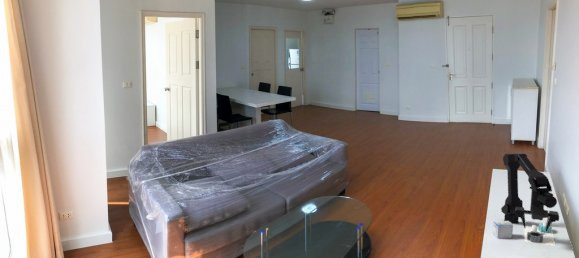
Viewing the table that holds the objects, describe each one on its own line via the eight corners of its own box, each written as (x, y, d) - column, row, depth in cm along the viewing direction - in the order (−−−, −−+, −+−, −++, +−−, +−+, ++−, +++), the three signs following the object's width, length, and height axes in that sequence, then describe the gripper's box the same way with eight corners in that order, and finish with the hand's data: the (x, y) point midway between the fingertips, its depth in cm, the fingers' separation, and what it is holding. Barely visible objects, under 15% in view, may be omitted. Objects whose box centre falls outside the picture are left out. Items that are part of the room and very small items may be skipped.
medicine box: (507, 236, 224) (508, 220, 222) (512, 239, 220) (513, 224, 218) (492, 237, 224) (493, 221, 222) (497, 240, 219) (497, 225, 218)
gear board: (524, 243, 215) (525, 233, 214) (523, 227, 232) (524, 217, 231) (554, 248, 209) (555, 237, 208) (551, 231, 226) (552, 221, 225)
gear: (527, 241, 214) (527, 236, 214) (526, 235, 220) (527, 230, 220) (543, 244, 211) (543, 238, 211) (542, 238, 217) (542, 232, 217)
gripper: (516, 203, 209) (514, 233, 212) (561, 208, 201) (558, 239, 204) (516, 195, 219) (514, 224, 222) (559, 200, 210) (556, 230, 213)
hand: (535, 229), depth 215 cm, fingers open, 9 cm apart
